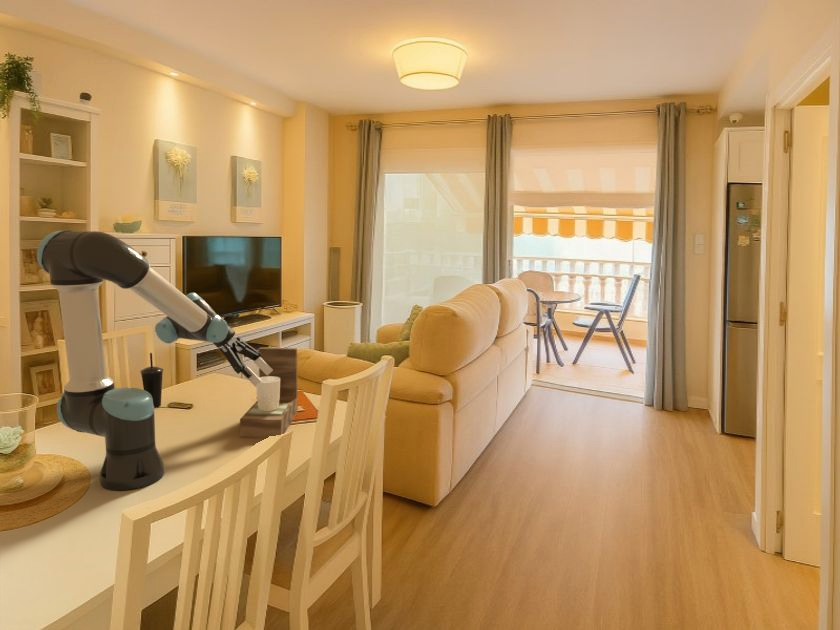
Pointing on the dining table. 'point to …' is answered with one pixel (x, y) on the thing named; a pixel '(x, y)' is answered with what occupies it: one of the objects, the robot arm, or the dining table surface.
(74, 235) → the robot arm
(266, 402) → the white cup
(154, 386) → the drinking cup
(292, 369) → the walnut shelf
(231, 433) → the dining table surface
